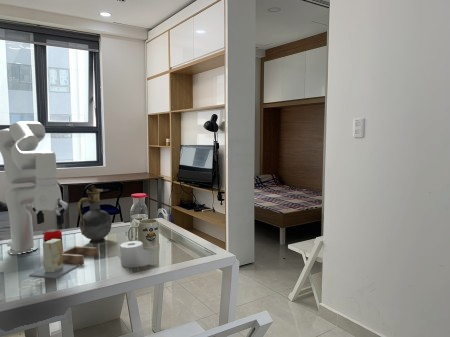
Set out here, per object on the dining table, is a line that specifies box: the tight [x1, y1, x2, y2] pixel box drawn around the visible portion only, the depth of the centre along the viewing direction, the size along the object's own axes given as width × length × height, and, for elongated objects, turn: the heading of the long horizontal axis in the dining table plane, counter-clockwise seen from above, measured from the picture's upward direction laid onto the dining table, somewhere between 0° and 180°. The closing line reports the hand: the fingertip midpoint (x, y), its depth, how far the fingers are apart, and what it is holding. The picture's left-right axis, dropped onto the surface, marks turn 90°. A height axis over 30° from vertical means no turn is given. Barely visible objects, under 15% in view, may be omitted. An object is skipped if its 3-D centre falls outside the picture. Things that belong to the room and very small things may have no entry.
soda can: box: [43, 228, 64, 252], centre depth 165 cm, size 8×8×12 cm
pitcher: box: [77, 185, 112, 245], centre depth 183 cm, size 11×19×30 cm, turn 157°
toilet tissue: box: [119, 240, 153, 269], centre depth 151 cm, size 9×13×9 cm
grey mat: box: [28, 264, 79, 280], centre depth 145 cm, size 13×13×1 cm
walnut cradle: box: [62, 245, 100, 266], centre depth 158 cm, size 13×12×4 cm
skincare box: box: [42, 239, 63, 272], centre depth 145 cm, size 6×4×12 cm
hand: (50, 223), depth 144 cm, fingers open, 9 cm apart
